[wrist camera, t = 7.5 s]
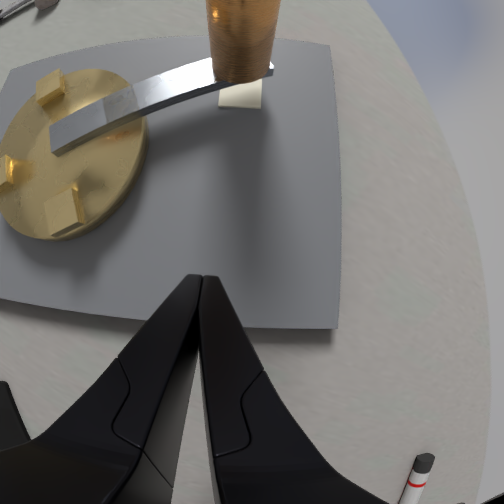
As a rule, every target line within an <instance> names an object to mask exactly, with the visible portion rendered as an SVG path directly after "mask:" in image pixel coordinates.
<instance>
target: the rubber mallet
mask: <svg viewBox="0 0 504 504" xmlns="http://www.w3.org/2000/svg"><path fill="white" fill-rule="evenodd" d="M29 1H31V0H17V1H16V2H14V3H12V4H11V5H9V6H8V7H6V8H5V9H3V10H0V20H1V19H2V18H3V17H4V16H6V15H7V14H9V13H11V12H12V11H14V10H15V9H17V8H19V7H20V6H22V5H24V4H26V3H27V2H29ZM57 2H58V0H35V2H34V3H35V6H36V7H37V8H38V9H41V10H43V9H45V8H47V7H49V6H52V5H54V4H56V3H57Z"/></svg>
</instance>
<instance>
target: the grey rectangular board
mask: <svg viewBox="0 0 504 504" xmlns="http://www.w3.org/2000/svg"><path fill="white" fill-rule="evenodd" d="M208 58H211V52H210V41H209V35H194V36H173V37H160V38H149V39H140V40H132V41H125V42H118V43H112V44H106V45H100V46H95V47H90V48H85V49H81V50H76V51H72V52H68V53H64V54H60V55H56V56H53V57H49V58H46V59H42V60H39V61H36V62H32V63H29V64H26V65H23V66H20V67H17V68H15V69H12V70H10V73H9V75H8V77H7V79H6V81H5V84H4V86H3V88H2V91H1V93H0V144H1V141H2V139H3V136H4V134H5V132H6V130H7V128H8V126H9V125H10V123H11V121H12V120H13V118H14V117H15V115H16V114H17V113H18V111H19V110H20V109H21V107H22V106H23V105H24V104H25V103H26V102H27V101H28V100H29V99H30V98H31V97H32V96H33V95H34V94H35V93H36V82H37V81H38V80H40V79H41V78H43V77H45V76H46V75H48V74H50V73H51V72H53V71H55V70H57V69H58V68H60V70H61V71H62V72H63V73H64V75H65V74H68V73H71V72H74V71H78V70H84V69H102V70H107V71H110V72H113V73H115V74H117V75H119V76H121V77H122V78H124V79H125V80H126V81H127V82H128V83H129V84H130V85H133V84H136V83H138V82H141V81H143V80H146V79H148V78H151V77H153V76H156V75H159V74H162V73H164V72H167V71H170V70H173V69H176V68H179V67H182V66H185V65H188V64H191V63H195V62H198V61H201V60H205V59H208ZM271 63H272V65H273V67H274V72H273V76H271V77H266V78H262V79H259V80H257V81H254V82H251V83H246V84H238V85H235V86H231V87H227V88H224V89H221V90H217V91H214V92H211V93H207V94H204V95H201V96H198V97H195V98H192V99H189V100H186V101H183V102H180V103H177V104H175V105H172V106H169V107H166V108H164V109H161V110H158V111H156V112H153V113H151V114H148V115H146V116H147V121H148V126H149V143H148V150H147V155H146V160H145V163H144V165H143V168H142V171H141V174H140V176H139V178H138V180H137V182H136V184H135V186H134V187H133V189H132V191H131V193H130V194H129V196H128V197H127V198H126V200H125V201H124V202H123V204H122V205H121V206H120V207H119V208H118V209H117V211H116V212H115V213H114V214H113V215H112V216H111V217H110V218H108V219H107V220H106V221H105V222H104V223H103V224H101V225H100V226H98V227H97V228H96V229H94V230H93V231H91V232H89V233H87V234H85V235H83V236H80V237H78V238H75V239H72V240H67V241H57V242H54V241H46V240H41V239H37V238H33V237H29V236H26V235H23V234H21V233H20V232H18V231H16V230H15V229H14V228H13V227H11V226H10V225H9V224H8V222H7V221H6V220H5V219H4V217H3V215H2V213H1V212H0V298H2V299H7V300H12V301H17V302H22V303H27V304H33V305H38V306H44V307H50V308H56V309H62V310H69V311H76V312H82V313H90V314H97V315H105V316H113V317H121V318H130V319H139V320H148V319H149V318H150V317H151V315H152V314H153V313H154V312H155V311H156V310H157V308H158V307H159V306H160V305H161V304H162V303H163V301H164V300H165V299H166V298H167V297H168V296H169V294H170V293H171V292H172V291H173V290H174V289H175V288H176V286H177V285H178V284H179V283H180V282H181V281H182V280H183V278H184V277H185V276H186V275H187V274H200V275H202V276H204V275H215V276H218V277H219V278H220V280H221V282H222V284H223V286H224V288H225V290H226V293H227V295H228V297H229V299H230V301H231V303H232V305H233V307H234V309H235V311H236V313H237V315H238V317H239V319H240V322H241V324H242V326H243V327H252V328H291V329H338V318H339V301H340V279H341V171H340V149H339V132H338V118H337V106H336V95H335V85H334V75H333V67H332V59H331V51H330V46H329V45H323V44H317V43H311V42H304V41H297V40H288V39H279V38H274V43H273V49H272V55H271Z"/></svg>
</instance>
